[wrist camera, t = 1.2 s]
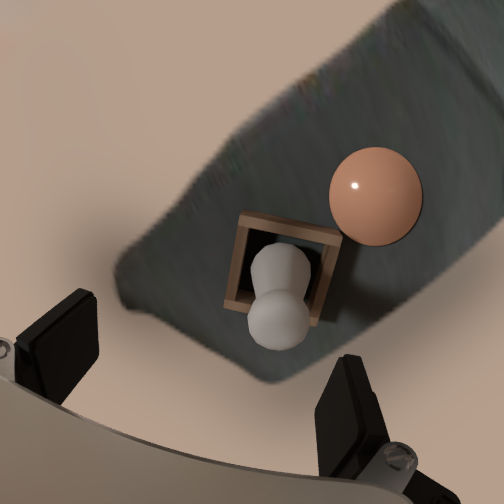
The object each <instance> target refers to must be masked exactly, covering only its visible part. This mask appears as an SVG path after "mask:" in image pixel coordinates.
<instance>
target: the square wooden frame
mask: <svg viewBox="0 0 504 504" xmlns="http://www.w3.org/2000/svg"><path fill="white" fill-rule="evenodd" d="M250 228H253V229H258V230H263V231H268V232H272V233H277V234H282V235H286V236H291V237H296V238H300V239H305V240H309V241H314V242H319V243H323V244H324V246H323V250H322V253H321V257H320V261H319V265H318V268H317V272H316V276H315V279H314V283H313V286H312V290H311V293H310V297H309V300H308V303H305V304H306V306H307V307H308V310H309V317H310V326H315V327H316V326H317V323H318V320H319V317H320V313H321V310H322V307H323V304H324V301H325V298H326V294H327V291H328V288H329V284H330V281H331V278H332V274H333V271H334V267H335V264H336V260H337V257H338V253H339V250H340V246H341V242H342V239H343V236H342V235H341V234H340V232H339V231H338V229H333V228H329V227H325V226H320V225H316V224H311V223H307V222H302V221H298V220H293V219H288V218H284V217H279V216H274V215H270V214H265V213H260V212H255V211H250V210H245V209H244V210H243V211H242V213H241V214H240V217H239V222H238V228H237V233H236V239H235V244H234V250H233V255H232V261H231V267H230V272H229V278H228V284H227V289H226V295H225V301H224V307H223V308H226V309H231V310H235V311H240V312H245V313H249V311H250V309H251V307H252V304H253V302H254V301H255V300H256V295H255V292H250V291H245V290H241V289H239V285H240V280H241V275H242V270H243V265H244V259H245V254H246V249H247V244H248V239H249V233H250Z"/></svg>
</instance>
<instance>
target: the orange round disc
mask: <svg viewBox="0 0 504 504" xmlns="http://www.w3.org/2000/svg"><path fill="white" fill-rule="evenodd" d="M329 204H330V209H331V212H332V215H333V217H334V219H335V221H336V223H337V224H338V226H339V227H340V229H341V230H342V231H343V232H344V233H345V234H346V235H347V236H348V237H350V238H351V239H353V240H354V241H357V242H359V243H361V244H365V245H370V246H382V245H387V244H390V243H392V242H395V241H397V240H398V239H400V238H401V237H403V236H404V235H405V234H406V233H407V232H408V231H409V230H410V229H411V228H412V227H413V225H414V223H415V222H416V220H417V218H418V216H419V212H420V209H421V204H422V189H421V184H420V180H419V178H418V175H417V173H416V171H415V170H414V168H413V167H412V165H411V164H410V163H409V162H408V161H407V160H406V159H405V158H404V157H403V156H401V155H400V154H398V153H397V152H395V151H392V150H390V149H386V148H380V147H371V148H365V149H361V150H359V151H356V152H354V153H352V154H351V155H349V156H348V157H347V158H346V159H345V160H344V161H342V163H341V164H340V165H339V166H338V168H337V169H336V171H335V173H334V175H333V177H332V180H331V184H330V189H329Z"/></svg>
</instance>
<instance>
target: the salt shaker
mask: <svg viewBox="0 0 504 504" xmlns="http://www.w3.org/2000/svg"><path fill="white" fill-rule="evenodd" d="M251 276H252V282H253V286H254V290H255V295H256V300H255V301H254V302H253V304H252V307H251V309H250V311H249V314H248V324H249V331H250V334H251V335H252V337H253V338H254V340H255V341H256V343H258V344H260V345H262V346H263V347H265V348H267V349H272V350H279V351H281V350H285V349H289V348H293V347H295V346H296V345H297V344H299V343H300V342H302V341H303V340H304V338H305V336H306V334H307V332H308V330H309V326H310V317H309V310H308V307H307V306H306V304H305V303H304V301H303V299H304V296H305V293H306V290H307V287H308V284H309V281H310V277H311V269H310V262H309V261H308V259H307V257H306V256H305V254H304V252H303V251H301V250H300V249H298V248H297V247H295V246H294V245H292V244H288V243H279V242H278V243H275V244H271V245H268V246H265V247H264V248H263V249H262V250H261V251H260V252H259V253H258V254H257V255H256V256H255V258H254V260H253V263H252V265H251Z"/></svg>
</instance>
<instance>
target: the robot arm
mask: <svg viewBox="0 0 504 504" xmlns="http://www.w3.org/2000/svg"><path fill="white" fill-rule="evenodd" d="M97 322H98V321H97V299H96V297H94V294H93V293H92V292H90V291H87V290H85V289H81V288H79V289H77V290H76V291H74V292H73V293H72V294H70V295H69V296H68V297H66V298H65V299H64V300H62V301H61V302H60V303H59V304H57V305H56V306H55V307H53V308H52V309H51V310H50V311H48V312H47V313H46V314H45V315H43V316H42V317H41V318H39V319H38V320H37V321H36V322H34V323H33V324H32V325H31V326H30V327H28V328H27V329H26V330H25V331H23V332H22V333H21V334H20V335H18V336H17V337H16V340H17V341H16V342H15V343H14V344H13V343H12V342H11V341H10V340H8V339H6V338H2V337H0V504H461V503H460V500H459V498H458V497H457V495H456V494H454V493H453V492H452V491H450V490H448V489H447V488H445V487H444V486H442V485H440V484H439V483H437V482H435V481H434V480H432V479H431V478H429V477H427V476H426V475H424V474H423V473H421V472H420V471H418V470H416V468H417V465H418V458H417V455H416V453H415V452H414V451H413V449H412V448H410V447H409V446H408V445H406V444H403V443H401V442H390V438H389V435H388V432H387V428H386V425H385V422H384V419H383V415H382V412H381V409H380V406H379V403H378V400H377V397H376V394H375V393H374V392H373V391H372V389H371V386H370V383H369V380H368V377H367V374H366V371H365V368H364V365H363V362H362V359H361V357H360V356H355V355H350V354H345V355H344V356H343V357H339V358H338V360H337V363H336V365H335V367H334V370H333V372H332V374H331V376H330V378H329V380H328V383H327V385H326V387H325V389H324V391H323V393H322V396H321V398H320V400H319V402H318V404H317V406H316V408H315V427H316V439H317V453H318V467H319V476H310V475H300V474H291V473H284V472H276V471H270V470H263V469H257V468H250V467H245V466H240V465H234V464H230V463H225V462H220V461H216V460H211V459H207V458H203V457H199V456H195V455H191V454H187V453H184V452H180V451H177V450H173V449H170V448H167V447H163V446H160V445H157V444H154V443H151V442H148V441H145V440H142V439H139V438H136V437H133V436H130V435H128V434H125V433H122V432H120V431H117V430H114V429H112V428H109V427H107V426H104V425H102V424H99V423H97V422H95V421H92V420H90V419H88V418H86V417H83V416H81V415H79V414H77V413H75V412H72V411H70V410H68V409H66V408H64V407H62V406H61V404H62V403H63V402H64V400H65V399H66V398H67V397H68V395H69V394H70V393H71V391H72V390H73V389H74V388H75V386H76V385H77V384H78V382H79V381H80V380H81V379H82V377H83V376H84V375H85V374H86V372H87V371H88V370H89V369H90V368H91V366H92V365H93V364H94V363H95V361H96V360H97V359H98V356H99V341H98V323H97Z"/></svg>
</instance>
